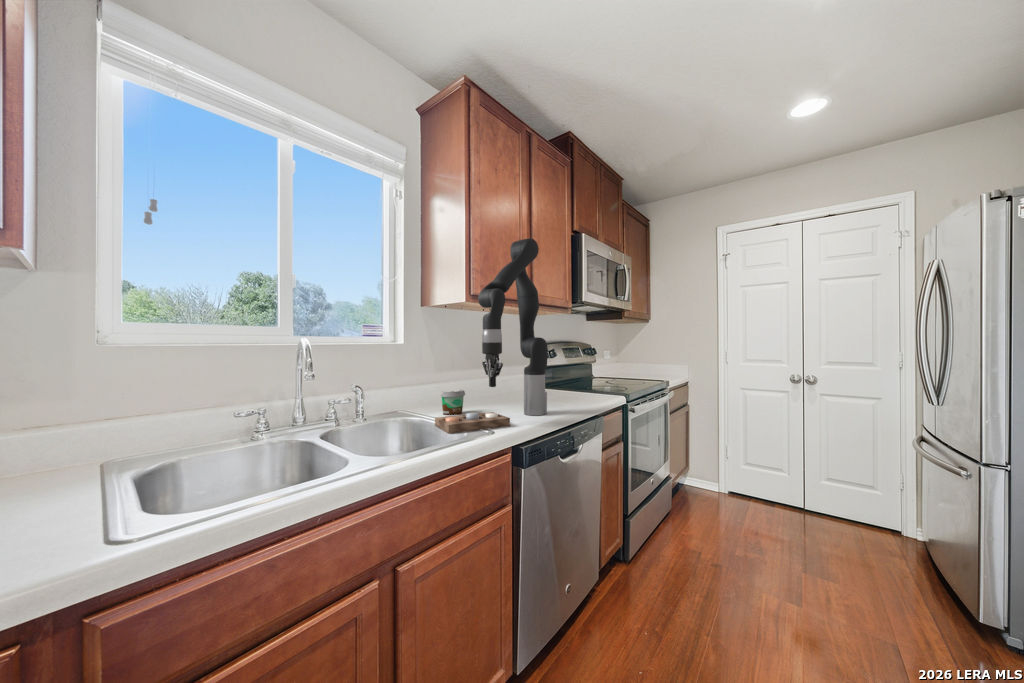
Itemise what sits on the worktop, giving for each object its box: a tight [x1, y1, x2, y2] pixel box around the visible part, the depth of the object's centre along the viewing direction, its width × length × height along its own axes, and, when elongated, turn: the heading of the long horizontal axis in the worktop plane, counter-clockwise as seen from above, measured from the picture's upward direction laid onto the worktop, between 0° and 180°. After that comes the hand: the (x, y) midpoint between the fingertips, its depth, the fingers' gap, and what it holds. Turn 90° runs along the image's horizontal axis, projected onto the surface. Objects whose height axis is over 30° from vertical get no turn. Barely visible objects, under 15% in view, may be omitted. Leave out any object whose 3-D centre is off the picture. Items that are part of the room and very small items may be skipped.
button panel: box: [434, 411, 511, 434], centre depth 142 cm, size 24×14×3 cm, turn 120°
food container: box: [440, 388, 466, 416], centre depth 165 cm, size 12×6×10 cm, turn 143°
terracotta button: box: [445, 416, 459, 422], centre depth 138 cm, size 5×5×3 cm
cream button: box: [485, 412, 499, 418], centre depth 146 cm, size 5×5×3 cm
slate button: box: [465, 412, 480, 420], centre depth 142 cm, size 5×5×3 cm
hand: (492, 386), depth 146 cm, fingers closed
